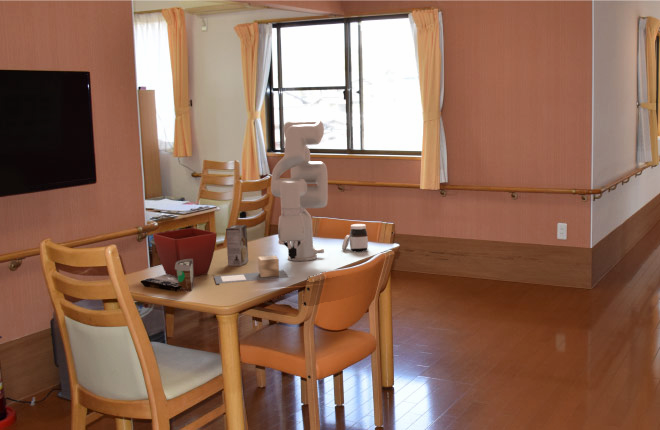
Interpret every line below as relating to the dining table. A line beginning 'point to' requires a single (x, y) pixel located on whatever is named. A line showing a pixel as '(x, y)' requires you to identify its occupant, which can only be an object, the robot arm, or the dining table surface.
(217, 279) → the topple mat
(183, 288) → the food container
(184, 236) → the plant pot
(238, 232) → the coffee box
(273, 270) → the oak cube
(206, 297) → the dining table surface
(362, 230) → the spread jar
